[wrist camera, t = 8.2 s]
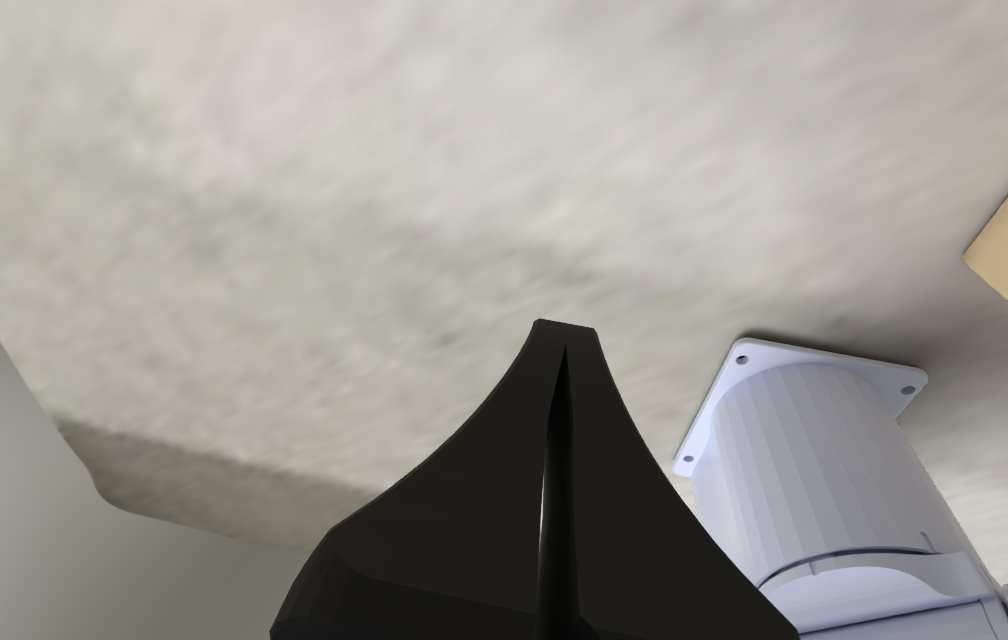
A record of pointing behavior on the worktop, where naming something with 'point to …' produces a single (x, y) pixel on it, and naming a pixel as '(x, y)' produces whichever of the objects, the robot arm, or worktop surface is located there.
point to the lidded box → (991, 252)
